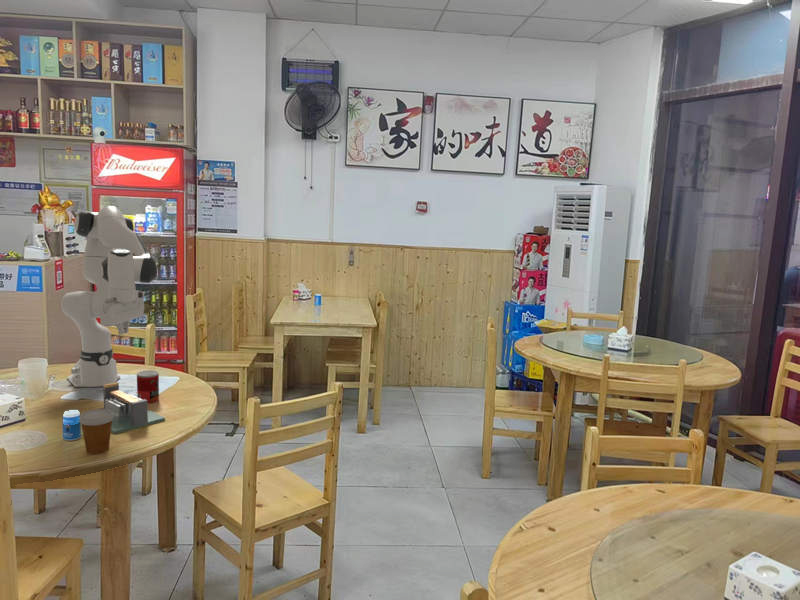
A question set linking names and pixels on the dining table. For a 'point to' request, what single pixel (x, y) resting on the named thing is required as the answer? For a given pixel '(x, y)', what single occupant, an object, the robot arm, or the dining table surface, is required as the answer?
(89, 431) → the disposable coffee cup
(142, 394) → the canned food
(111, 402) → the heatsink
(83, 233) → the robot arm
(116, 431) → the board
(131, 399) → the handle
